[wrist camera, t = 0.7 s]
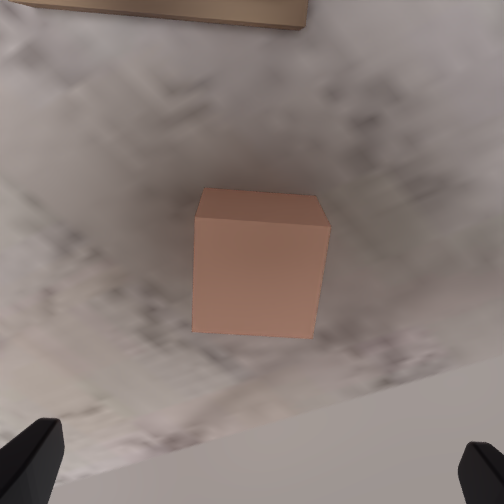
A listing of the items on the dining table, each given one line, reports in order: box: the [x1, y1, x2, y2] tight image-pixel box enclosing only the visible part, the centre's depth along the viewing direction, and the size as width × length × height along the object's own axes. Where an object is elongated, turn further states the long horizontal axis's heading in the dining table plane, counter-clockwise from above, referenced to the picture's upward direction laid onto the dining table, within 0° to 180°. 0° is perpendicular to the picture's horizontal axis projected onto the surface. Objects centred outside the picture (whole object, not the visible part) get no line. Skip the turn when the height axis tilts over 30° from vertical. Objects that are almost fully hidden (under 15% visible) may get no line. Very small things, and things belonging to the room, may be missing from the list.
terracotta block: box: [192, 188, 331, 339], centre depth 18 cm, size 5×5×4 cm
